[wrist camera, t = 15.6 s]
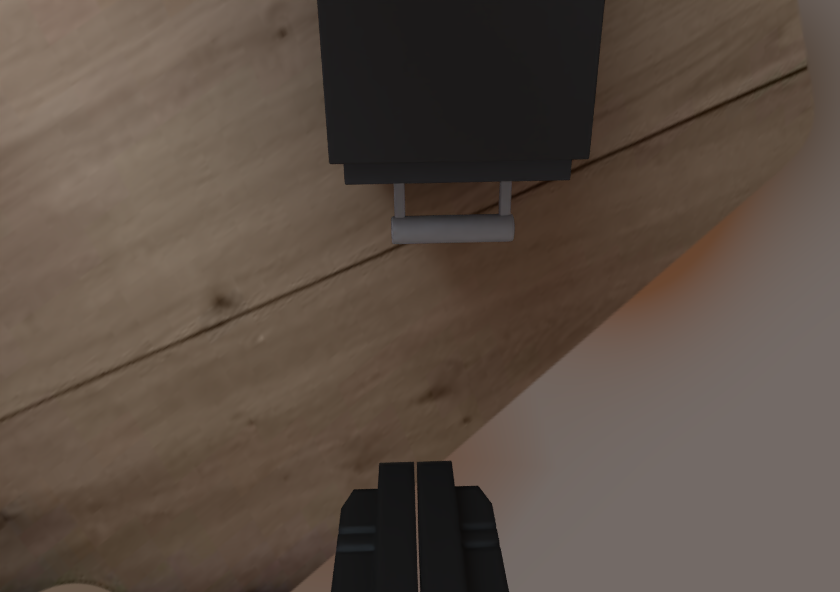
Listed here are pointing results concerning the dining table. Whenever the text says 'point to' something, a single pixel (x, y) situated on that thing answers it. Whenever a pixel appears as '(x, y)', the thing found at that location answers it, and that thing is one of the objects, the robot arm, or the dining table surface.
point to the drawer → (447, 172)
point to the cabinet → (459, 79)
